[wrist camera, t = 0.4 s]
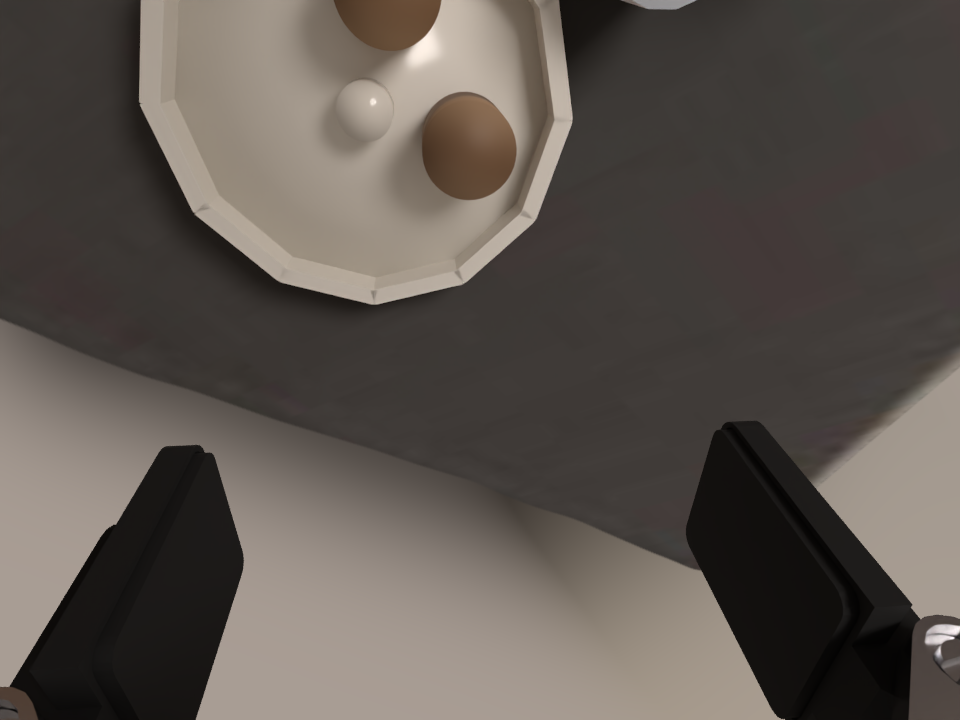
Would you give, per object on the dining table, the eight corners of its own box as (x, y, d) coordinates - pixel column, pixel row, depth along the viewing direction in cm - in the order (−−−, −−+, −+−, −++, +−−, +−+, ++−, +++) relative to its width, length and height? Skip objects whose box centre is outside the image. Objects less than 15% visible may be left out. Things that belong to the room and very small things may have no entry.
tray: (173, -236, 25) (145, -264, 22) (618, -44, 30) (636, -49, 28) (156, 230, 35) (136, 247, 33) (488, 313, 41) (493, 333, 38)
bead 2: (434, 79, 31) (436, 87, 28) (518, 107, 33) (530, 119, 29) (412, 167, 34) (411, 185, 30) (491, 191, 35) (498, 211, 32)
